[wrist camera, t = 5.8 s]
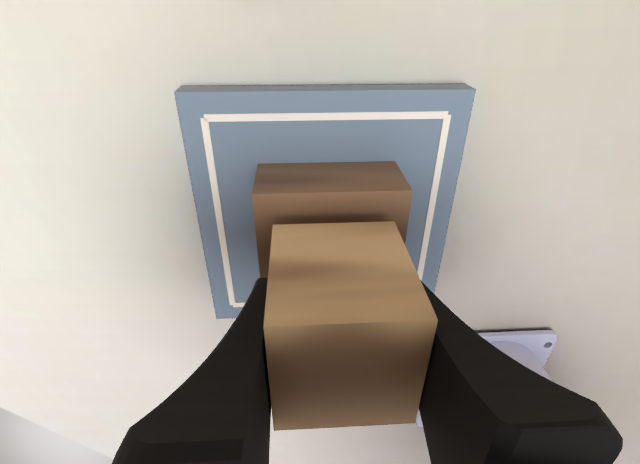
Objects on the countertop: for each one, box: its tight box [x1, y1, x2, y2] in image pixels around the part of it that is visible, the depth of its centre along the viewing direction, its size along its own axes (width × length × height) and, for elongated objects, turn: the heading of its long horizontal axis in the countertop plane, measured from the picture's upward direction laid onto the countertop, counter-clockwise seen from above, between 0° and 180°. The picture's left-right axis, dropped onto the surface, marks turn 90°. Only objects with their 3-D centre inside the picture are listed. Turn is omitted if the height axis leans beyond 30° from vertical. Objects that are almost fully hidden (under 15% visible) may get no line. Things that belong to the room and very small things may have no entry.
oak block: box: [263, 221, 438, 431], centre depth 13 cm, size 4×4×5 cm
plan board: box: [174, 84, 476, 319], centre depth 18 cm, size 12×12×4 cm
